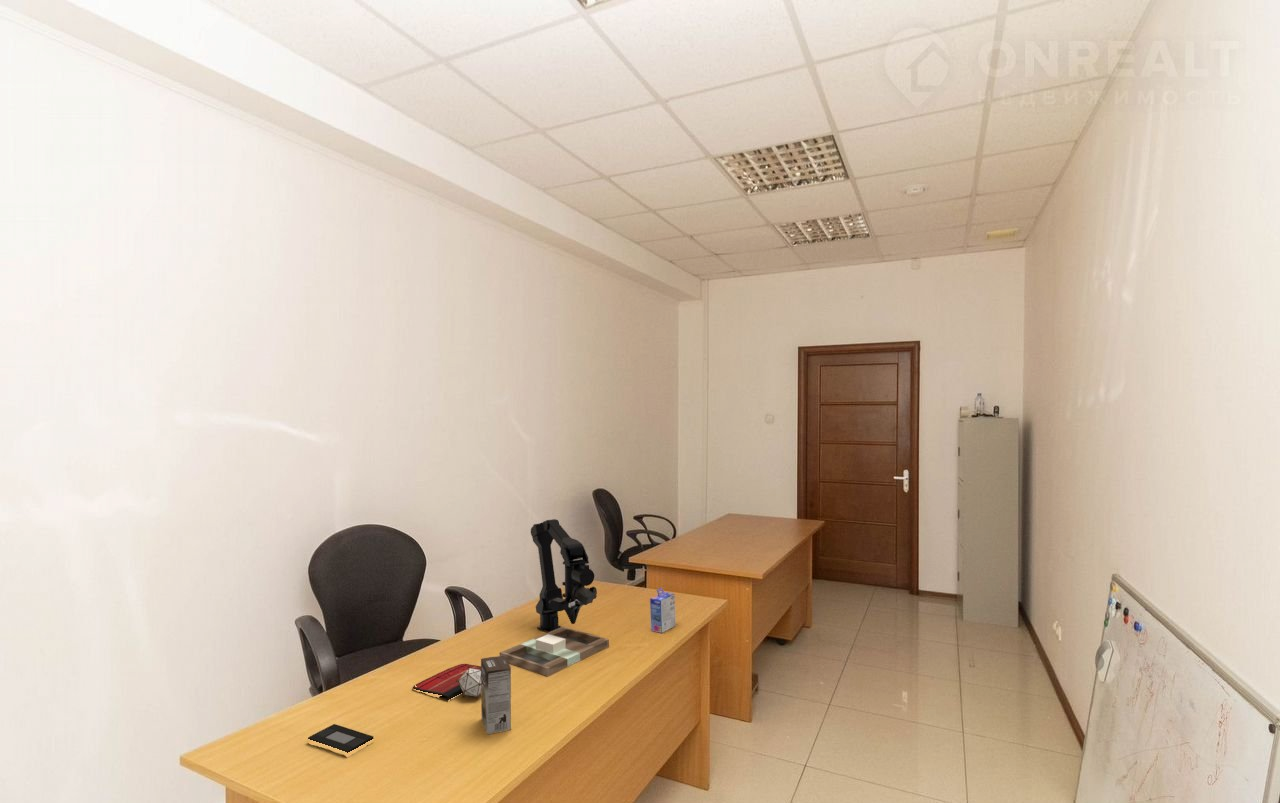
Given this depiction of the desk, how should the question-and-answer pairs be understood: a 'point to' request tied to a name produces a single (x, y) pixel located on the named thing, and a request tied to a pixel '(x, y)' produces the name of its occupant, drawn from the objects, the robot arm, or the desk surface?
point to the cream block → (550, 643)
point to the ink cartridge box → (662, 611)
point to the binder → (445, 681)
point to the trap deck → (548, 663)
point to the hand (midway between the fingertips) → (573, 623)
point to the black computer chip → (341, 738)
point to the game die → (471, 682)
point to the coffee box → (496, 694)
